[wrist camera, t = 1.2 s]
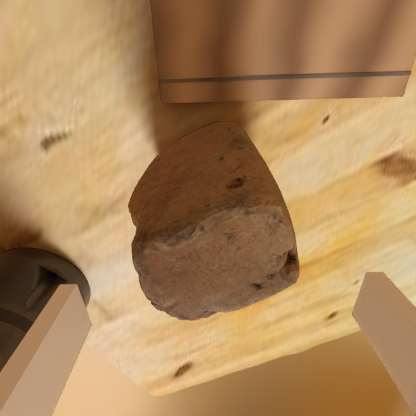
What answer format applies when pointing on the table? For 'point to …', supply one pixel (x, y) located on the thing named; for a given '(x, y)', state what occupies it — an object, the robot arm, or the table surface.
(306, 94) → the board
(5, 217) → the table surface
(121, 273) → the table surface
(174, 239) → the brown pitted rock
